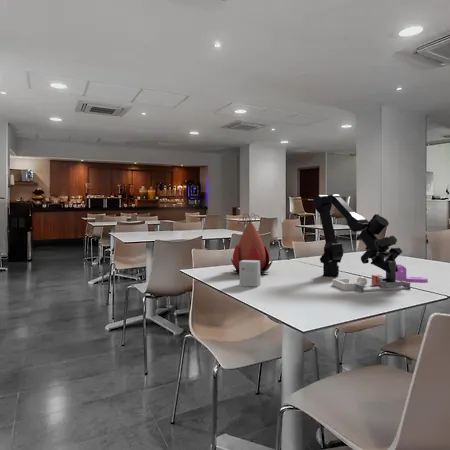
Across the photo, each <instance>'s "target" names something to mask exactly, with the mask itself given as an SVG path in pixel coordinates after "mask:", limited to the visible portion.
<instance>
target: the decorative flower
mask: <svg viewBox="0 0 450 450" xmlns="http://www.w3.org/2000/svg"><path fill="white" fill-rule="evenodd" d="M246 216H253V217H256V216H257V217H258V218H259V222H260V223H261V222H262V220H261V217H260V216H259V215H258V214H255V213H251V215H249V213H244V214H243V216H242V217H240V218H239V219H238V225H240V219H242V221H248V222H247V224H246V226H245V228H244V229H243V232H242V234H241V236H240V239H239V242H238V243H236V245H235V247H234V250H233V254H232V258H231V259H230V261H231V263H232V265H233V267H234V269H230V270H231V271H233V272H237V273H239V272H238V271H239V262H240V261H242V260H260V274H266V273H269V271H268V270H269V269H270V267H271V265H272V263H273V260H274V259H272V260H271V261H270V252H269V251H268V248H267V247H266V245H264V243H263V241H262V237H261V236H260V234H259V232H258V230H257V228H256V227H255V225H254V224H253V223H252V218H253V217H248V218H247V217H246ZM244 218H245V219H244ZM254 221H256V218H254ZM235 269H236V270H235ZM237 270H238V271H237Z"/></svg>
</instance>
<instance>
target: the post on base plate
mask: <svg viewBox="0 0 450 450" xmlns="http://www.w3.org/2000/svg"><path fill="white" fill-rule="evenodd" d="M386 263H387V265H388V266H389V268H390V270H391V272H390V273H388V272H386V271H385V276H383V275H380V274H371V285H374V286H379V287H380V286H382V287H385V288H388V287H401V281H397V280H396V265H397V262H396V260H395V261H386Z"/></svg>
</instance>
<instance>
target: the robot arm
mask: <svg viewBox="0 0 450 450" xmlns="http://www.w3.org/2000/svg"><path fill="white" fill-rule="evenodd" d="M312 203H313V206H314V209H315V210H316V211H317V213H318V214H319V217H320V222H321V226H322V231H323V237H324V241H325V244H324V247H323V254H322V255H321V256H320V258H319V261H320V264H321V263H322V264H323V266H322V267H323V274H322V277H332V278H333V277H337V278H338V275H339V273H340V266H339V265H338V263H341V262H342V259H343V257H344V252H345V251H344V248H343V244H342V242H341V243H339V242H338V240H337V238H336V237H337V236H336V232H335V229H334V224H333V221H332V216H331V210H332V207H333V206H334V207H335V209H336V210H337V211H338V212H339V213H340V214H341V215H342V216H343V218H344V219H345V220H346V225H347V226H348V228H349V229H350V231H351V232H353V233H357V232H359V233H358V234H356V239H355V240H356V241H361V242H363V244H364V245H365V246H366V247H365V248H364V249H365V250H366V251H365V252H363V254H362V255H361V256H360V261H361V263H362V264H363V265H364V264H365V265H366V264H369V263H370V264H371V265H373V266H376V267H377V268H379V269H381V270H383V271H384V272H385V273H386V272H388V273H390V272H391V270H390V268H389V266H388V265H387V263H386V261H396V259H397V258H398V257H400V255H401V254H402V253H403V250H402V248H400V247H392V246H394V245H395V246H396V244H397V242H398V239H397V238H396V237H395V236H394V235H390V236H385V237H383V238H378V235H381V234H382V232H383V231H384V230H386V228H387V227H388V226H389V225H390V224H389V221H388V220H387V218H385V217H383V216H381V215H380V214H378V213H377V214H373V216H372V218H371V219H369V220H368V219H367V218H366V217H365V216H363V215H361V214H358V213H356V212H355V211H354V210H353V208H351V206H350V205H348V203H347V202H346V201H345V200H344V199H343V198H342V196H341V195H340V194H330V195H327V194H317V195H315V196H314V198H313V199H312ZM369 259H371V262H370V260H369ZM397 271H398V268H397V264H396V272H397Z"/></svg>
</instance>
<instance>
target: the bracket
mask: <svg viewBox="0 0 450 450" xmlns="http://www.w3.org/2000/svg"><path fill="white" fill-rule="evenodd" d="M396 265H397V268H398V271H397V272H396V280H397V281H405V282H409V283H427V282H429V280H428V277H424V276H407V268H406V267H405V266H403V264H400V263H396Z"/></svg>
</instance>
